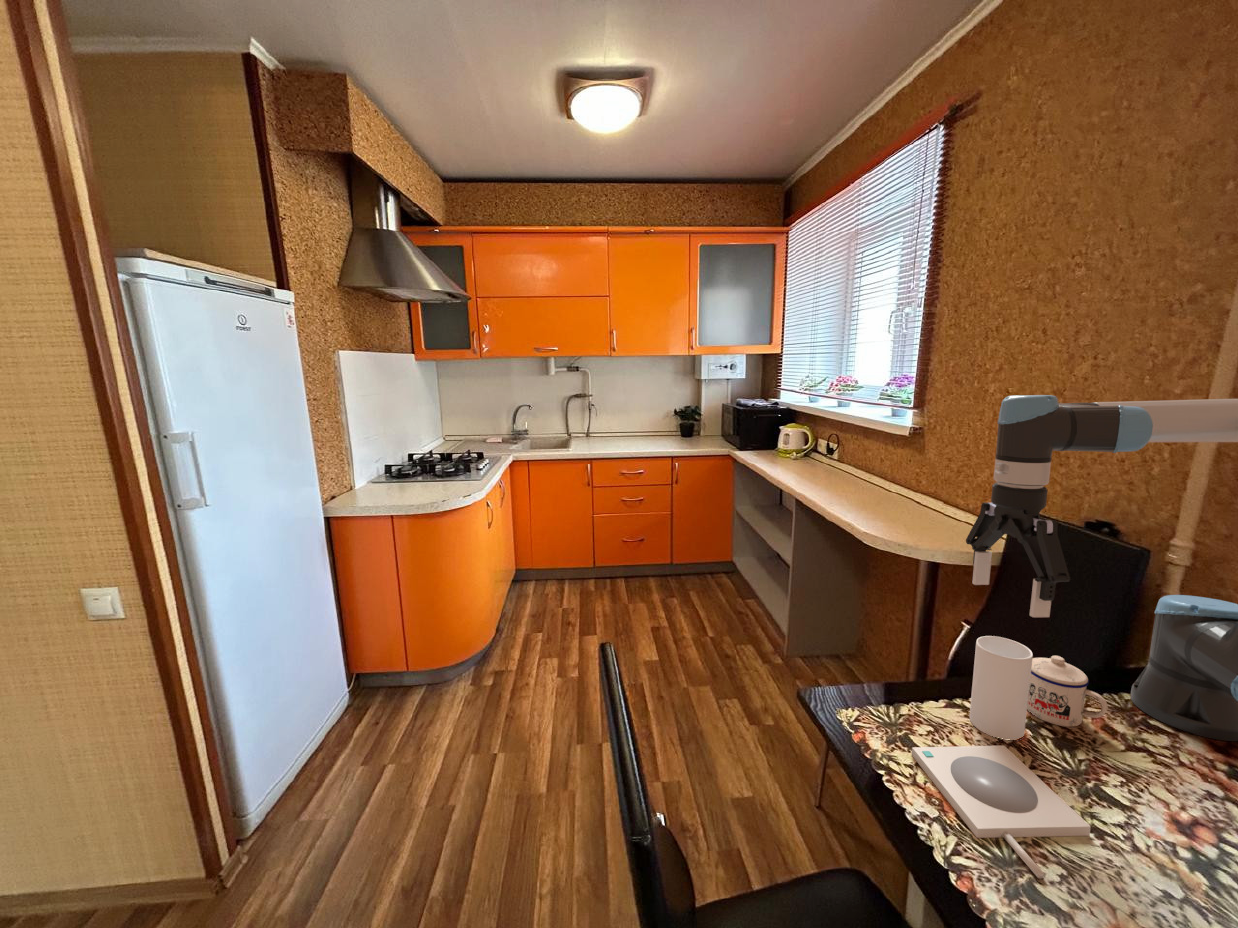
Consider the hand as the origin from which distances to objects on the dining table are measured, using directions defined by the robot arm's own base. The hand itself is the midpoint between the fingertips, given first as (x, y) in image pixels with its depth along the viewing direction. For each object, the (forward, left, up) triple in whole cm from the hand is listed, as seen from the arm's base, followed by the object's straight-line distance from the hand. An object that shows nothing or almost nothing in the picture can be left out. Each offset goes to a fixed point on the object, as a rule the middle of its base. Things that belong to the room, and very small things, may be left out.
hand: (1007, 599), depth 89 cm
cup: (0, 0, -26) cm, 26 cm away
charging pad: (+12, +18, -25) cm, 33 cm away
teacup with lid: (-14, -2, -26) cm, 29 cm away
